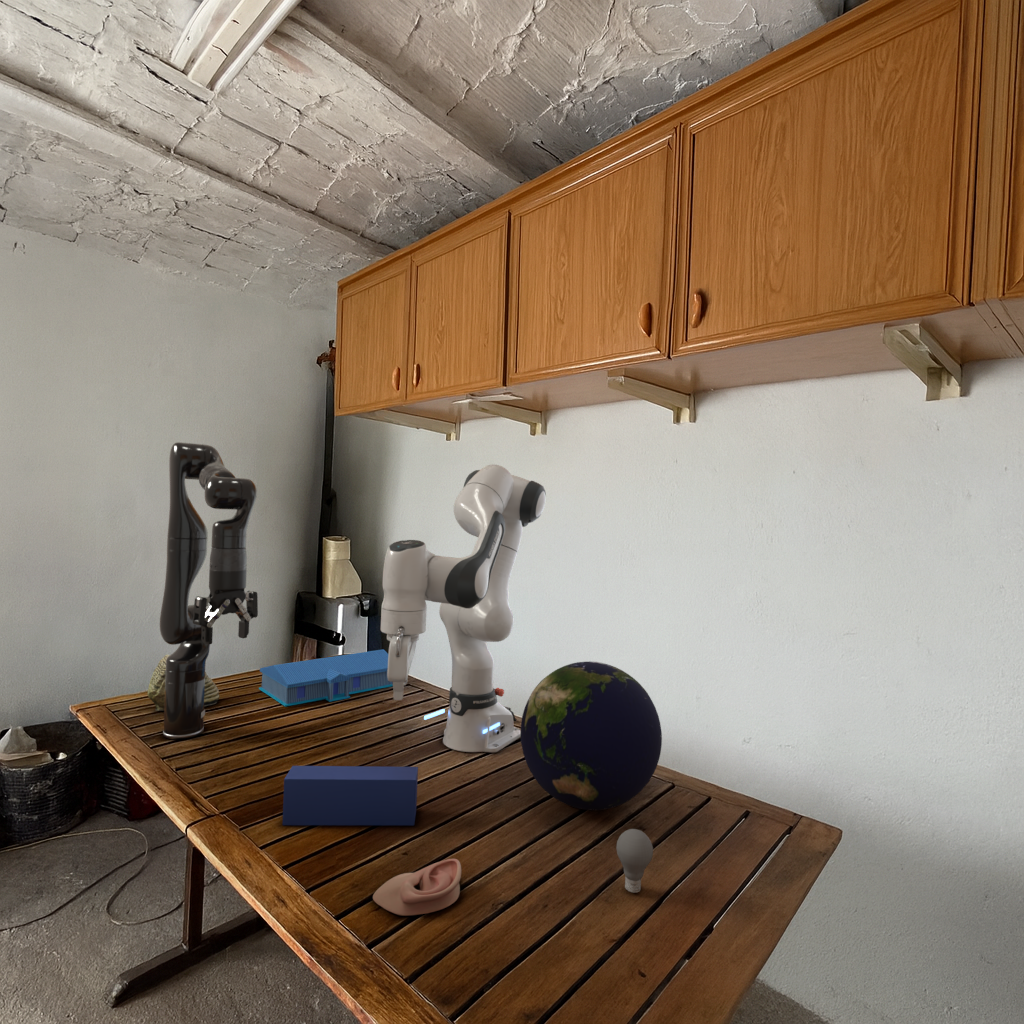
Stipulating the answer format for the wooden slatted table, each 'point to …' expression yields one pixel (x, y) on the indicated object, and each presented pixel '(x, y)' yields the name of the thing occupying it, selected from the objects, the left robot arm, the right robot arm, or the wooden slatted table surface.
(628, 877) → the light bulb
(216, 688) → the fossil
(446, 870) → the anatomical model
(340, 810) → the box
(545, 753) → the globe
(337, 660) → the model building
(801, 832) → the wooden slatted table surface
